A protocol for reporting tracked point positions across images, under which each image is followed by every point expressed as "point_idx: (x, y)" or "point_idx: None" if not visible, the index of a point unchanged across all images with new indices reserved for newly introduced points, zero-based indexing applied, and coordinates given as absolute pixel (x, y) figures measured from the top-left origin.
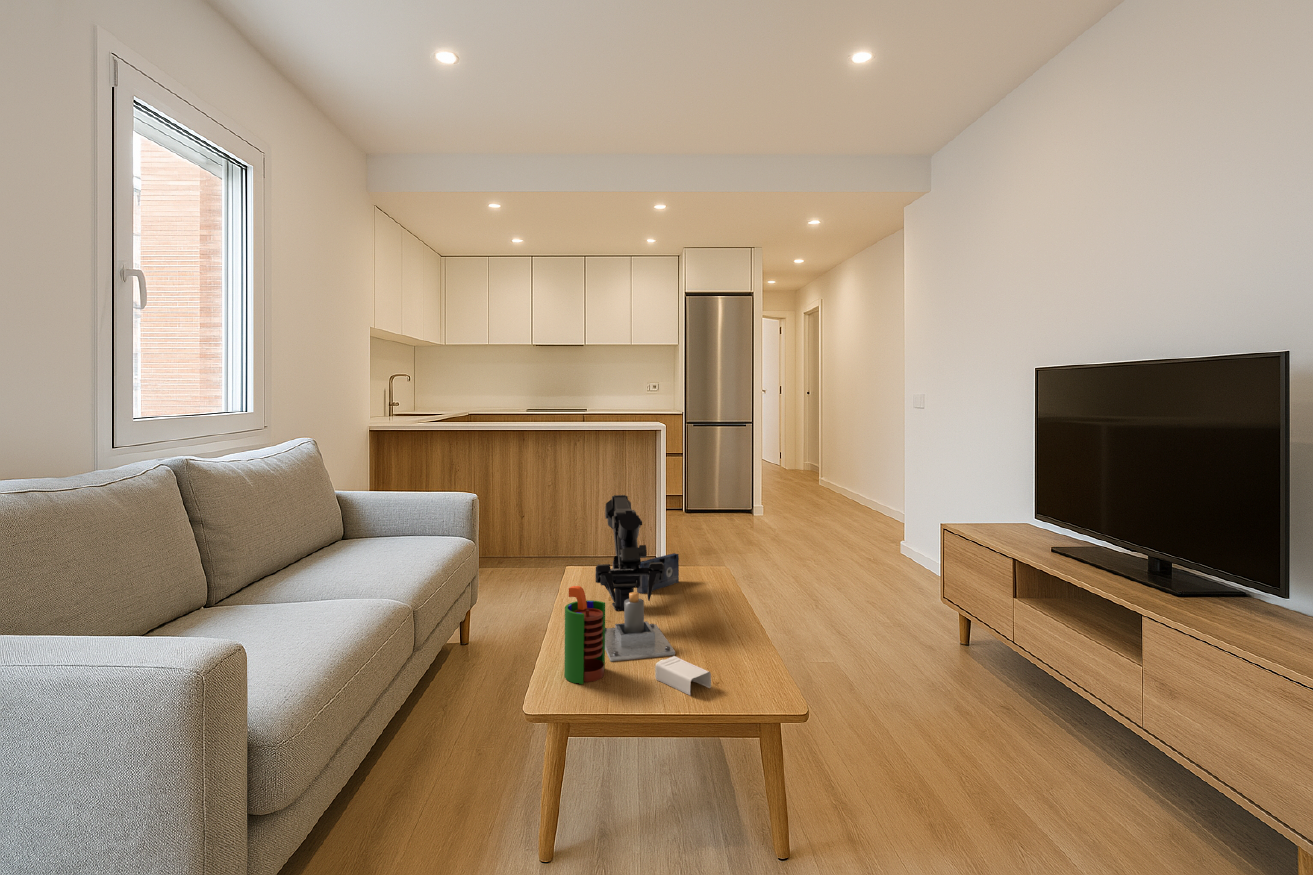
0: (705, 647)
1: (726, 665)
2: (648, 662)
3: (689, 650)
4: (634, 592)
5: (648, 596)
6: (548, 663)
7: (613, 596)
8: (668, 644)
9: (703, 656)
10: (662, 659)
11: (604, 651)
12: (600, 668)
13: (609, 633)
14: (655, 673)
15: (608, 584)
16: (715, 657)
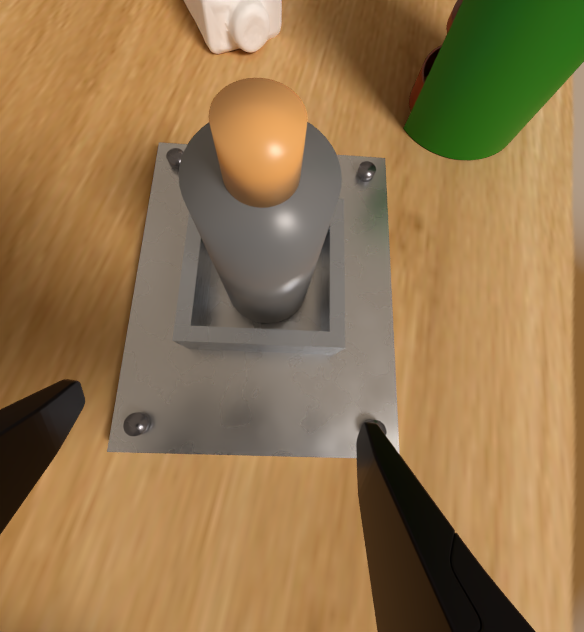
0: (29, 182)
1: (49, 50)
2: None
3: (98, 175)
4: (242, 143)
5: (61, 392)
6: (569, 208)
7: (389, 445)
8: (156, 201)
9: (79, 121)
10: (247, 4)
11: (429, 75)
12: (434, 51)
13: (355, 383)
14: (281, 11)
15: (507, 600)
16: (46, 104)
